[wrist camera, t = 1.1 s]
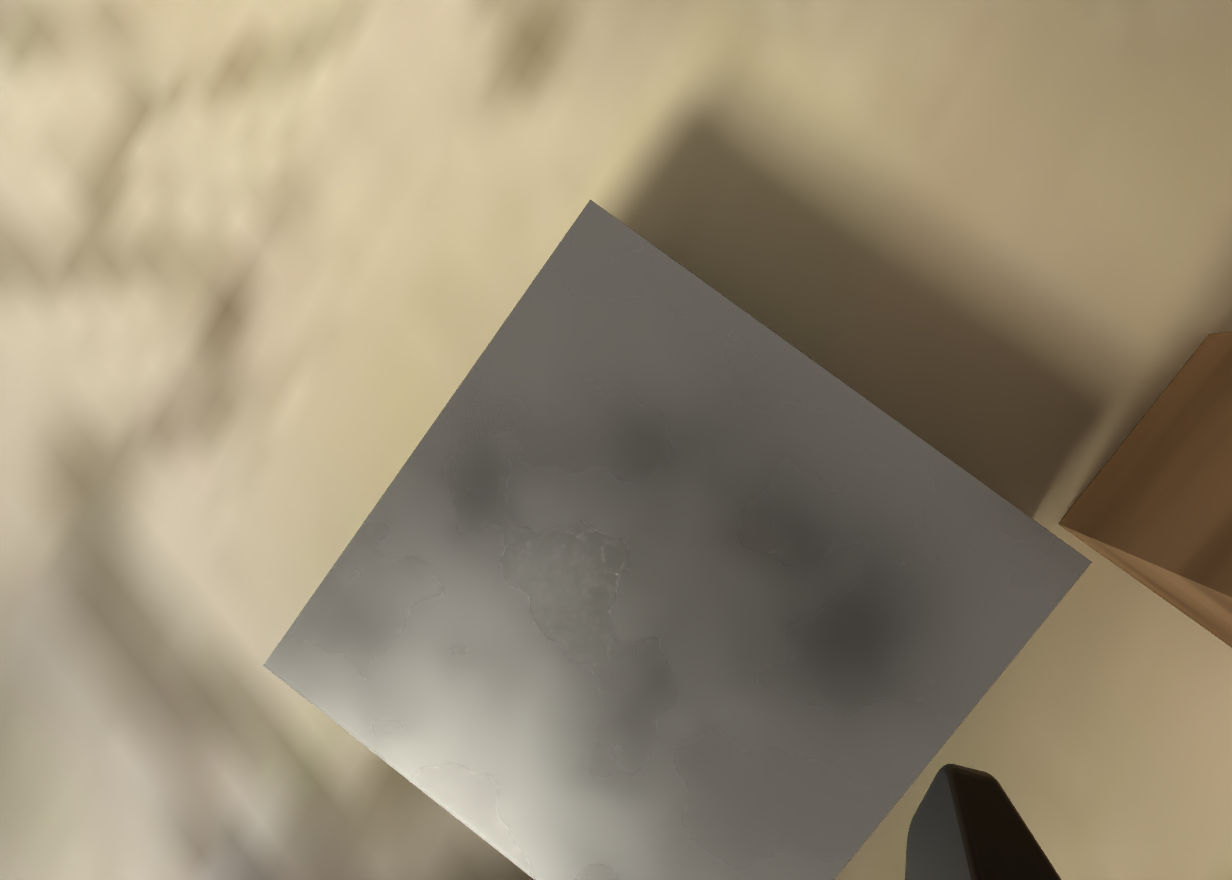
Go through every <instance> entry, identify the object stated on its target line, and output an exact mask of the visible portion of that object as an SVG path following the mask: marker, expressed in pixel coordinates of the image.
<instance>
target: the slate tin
mask: <svg viewBox="0 0 1232 880" xmlns="http://www.w3.org/2000/svg"><path fill="white" fill-rule="evenodd" d="M1091 563H1092V562H1091V561H1090V560H1088V559H1087V558H1086V557H1084V556H1083V555H1081V554H1080V553H1079V552H1077V551H1076V550H1075V549H1073V548H1072V547H1070V546H1069V545H1068V544H1066V543H1065V542H1064V541H1062V540H1061V539H1059V538H1058V537H1057V536H1055V535H1054V534H1052V533H1051V532H1050V531H1048V530H1047V529H1046V528H1044V527H1043V526H1041V525H1040V524H1039V523H1037V522H1036V521H1034V520H1033V519H1032V518H1030V517H1029V516H1028V515H1026V514H1025V513H1023V512H1022V511H1021V510H1019V509H1018V508H1016V507H1015V506H1014V505H1012V504H1011V503H1010V502H1008V501H1007V500H1005V499H1004V498H1003V497H1001V496H1000V495H998V494H997V493H996V492H994V491H993V490H992V489H990V488H989V487H987V486H986V485H985V484H983V483H982V482H980V481H979V480H978V479H976V478H975V477H974V476H972V475H971V474H969V473H968V472H967V471H965V470H964V469H962V468H961V467H960V466H958V465H957V464H956V463H954V462H953V461H951V460H950V459H949V458H947V457H946V456H944V455H943V454H942V453H940V452H939V451H938V450H936V449H935V448H933V447H932V446H931V445H929V444H928V443H926V442H925V441H924V440H922V439H921V438H920V437H918V436H917V435H915V434H914V433H913V432H911V431H910V430H908V429H907V428H906V427H904V426H903V425H902V424H900V423H899V422H897V421H896V420H895V419H893V418H892V417H890V416H889V415H888V414H886V413H885V412H884V411H882V410H881V409H879V408H878V407H877V406H875V405H874V404H873V403H871V402H870V401H868V400H867V399H866V398H864V397H863V396H861V395H860V394H859V393H857V392H856V391H855V390H853V389H852V388H850V387H849V386H848V385H846V384H845V383H843V382H842V381H841V380H839V379H838V378H837V377H835V376H834V375H832V374H831V373H830V372H828V371H827V370H825V369H824V368H823V367H821V366H820V365H819V364H817V363H816V362H814V361H813V360H812V359H810V358H809V357H807V356H806V355H805V354H803V353H802V352H801V351H799V350H798V349H796V348H795V347H794V346H792V345H791V344H789V343H788V342H787V341H785V340H784V339H783V338H781V337H780V336H778V335H777V334H776V333H774V332H773V331H771V330H770V329H769V328H767V327H766V326H765V325H763V324H762V323H760V322H759V321H758V320H756V319H755V318H753V317H752V316H751V315H749V314H748V313H747V312H745V311H744V310H742V309H741V308H740V307H738V306H737V305H735V304H734V303H733V302H731V301H730V300H729V299H727V298H726V297H724V296H723V295H722V294H720V293H719V292H717V291H716V290H715V289H713V288H712V287H711V286H709V285H708V284H706V283H705V282H704V281H702V280H701V279H699V278H698V277H697V276H695V275H694V274H693V273H691V272H690V271H688V270H687V269H686V268H684V267H683V266H681V265H680V264H679V263H677V262H676V261H675V260H673V259H672V258H670V257H669V256H668V255H666V254H665V253H664V252H662V251H661V250H659V249H658V248H657V247H655V246H654V245H652V244H651V243H650V242H648V241H647V240H646V239H644V238H643V237H641V236H640V235H639V234H637V233H636V232H634V231H633V230H632V229H630V228H629V227H628V226H626V225H625V224H623V223H622V222H621V221H619V220H618V219H616V218H615V217H614V216H612V215H611V214H610V213H608V212H607V211H605V210H604V209H603V208H601V207H600V206H598V205H597V204H596V203H594V202H593V201H592V200H590V201H589V202H588V204H587V205H586V207H585V208H584V209H583V211H582V212H581V214H580V215H579V216H578V218H577V219H576V221H575V222H574V224H573V225H572V226H571V228H570V229H569V231H568V232H567V234H566V235H565V236H564V238H563V239H562V241H561V242H560V244H559V245H558V246H557V248H556V249H555V251H554V252H553V254H552V255H551V256H550V258H549V259H548V261H547V262H546V264H545V265H544V266H543V268H542V269H541V271H540V272H539V274H538V275H537V276H536V278H535V279H534V281H533V282H532V283H531V285H530V286H529V288H528V289H527V291H526V292H525V293H524V295H523V296H522V298H521V299H520V301H519V302H518V303H517V305H516V306H515V308H514V309H513V311H512V312H511V313H510V315H509V316H508V318H507V319H506V321H505V322H504V323H503V325H502V326H501V328H500V329H499V331H498V332H497V333H496V335H495V336H494V338H493V339H492V340H491V342H490V343H489V345H488V346H487V348H486V349H485V350H484V352H483V353H482V355H481V356H480V358H479V359H478V360H477V362H476V363H475V365H474V366H473V368H472V369H471V370H470V372H469V373H468V375H467V376H466V378H465V379H464V380H463V382H462V383H461V385H460V386H459V388H458V389H457V390H456V392H455V393H454V395H453V396H452V397H451V399H450V400H449V402H448V403H447V405H446V406H445V407H444V409H443V410H442V412H441V413H440V415H439V416H438V417H437V419H436V420H435V422H434V423H433V425H432V426H431V427H430V429H429V430H428V432H427V433H426V435H425V436H424V437H423V439H422V440H421V442H420V443H419V445H418V446H417V447H416V449H415V450H414V452H413V453H412V455H411V456H410V457H409V459H408V460H407V462H406V463H405V464H404V466H403V467H402V469H401V470H400V472H399V473H398V474H397V476H396V477H395V479H394V480H393V482H392V483H391V484H390V486H389V487H388V489H387V490H386V492H385V493H384V494H383V496H382V497H381V499H380V500H379V502H378V503H377V504H376V506H375V507H374V509H373V510H372V512H371V513H370V514H369V516H368V517H367V519H366V520H365V521H364V523H363V524H362V526H361V527H360V529H359V530H358V531H357V533H356V534H355V536H354V537H353V539H352V540H351V541H350V543H349V544H348V546H347V547H346V549H345V550H344V551H343V553H342V554H341V556H340V557H339V559H338V560H337V561H336V563H335V564H334V566H333V567H332V569H331V570H330V571H329V573H328V574H327V576H326V577H325V578H324V580H323V581H322V583H321V584H320V586H319V587H318V588H317V590H316V591H315V593H314V594H313V596H312V597H311V598H310V600H309V601H308V603H307V604H306V606H305V607H304V608H303V610H302V611H301V613H300V614H299V616H298V617H297V618H296V620H295V621H294V623H293V624H292V626H291V627H290V628H289V630H288V631H287V633H286V634H285V636H284V637H283V638H282V640H281V641H280V643H279V644H278V645H277V647H276V648H275V650H274V651H273V653H272V654H271V655H270V657H269V658H268V660H267V661H266V663H265V664H264V665H263V666H265V667H266V668H267V669H268V670H270V671H271V672H272V673H273V674H275V675H276V676H277V677H279V678H280V679H281V680H282V681H284V682H285V683H286V684H287V685H289V686H290V687H291V688H292V689H294V690H295V691H296V692H297V693H299V694H300V695H301V696H303V697H304V698H305V699H306V700H308V701H309V702H310V703H311V704H313V705H314V706H315V707H316V708H318V709H319V710H320V711H322V712H323V713H324V714H325V715H327V716H328V717H329V718H330V719H332V720H333V721H334V722H335V723H337V724H338V725H339V726H341V727H342V728H343V729H344V730H346V731H347V732H348V733H349V734H351V735H352V736H353V737H354V738H356V739H357V740H358V741H359V742H361V743H362V744H363V745H365V746H366V747H367V748H368V749H370V750H371V751H372V752H373V753H375V754H376V755H377V756H378V757H380V758H381V759H382V760H384V761H385V762H386V763H387V764H389V765H390V766H391V767H392V768H394V769H395V770H396V771H397V772H399V773H400V774H401V775H403V776H404V777H405V778H406V779H408V780H409V781H410V782H411V783H413V784H414V785H415V786H416V787H418V788H419V789H420V790H421V791H423V792H424V793H425V794H427V795H428V796H429V797H430V798H432V799H433V800H434V801H435V802H437V803H438V804H439V805H440V806H442V807H443V808H444V809H446V810H447V811H448V812H449V813H451V814H452V815H453V816H454V817H456V818H457V819H458V820H459V821H461V822H462V823H463V824H465V825H466V826H467V827H468V828H470V829H471V830H472V831H473V832H475V833H476V834H477V835H478V836H480V837H481V838H482V839H483V840H485V841H486V842H487V843H489V844H490V845H491V846H492V847H494V848H495V849H496V850H497V851H499V852H500V853H501V854H502V855H504V856H505V857H506V858H508V859H509V860H510V861H511V862H513V863H514V864H515V865H516V866H518V867H519V868H520V869H521V870H523V871H524V872H525V873H527V874H528V875H529V876H530V877H532V878H533V879H534V880H834V879H835V878H836V877H837V875H838V874H839V873H840V872H841V870H842V869H843V868H844V867H845V866H846V864H847V863H848V862H849V861H850V859H851V858H852V857H853V856H854V854H855V853H856V852H857V851H858V850H859V848H860V847H861V846H862V845H863V843H864V842H865V841H866V840H867V838H868V837H869V836H870V835H871V834H872V832H873V831H874V830H875V829H876V827H877V826H878V825H879V824H880V822H881V821H882V820H883V819H884V818H885V816H886V815H887V814H888V813H889V811H890V810H891V809H892V808H893V806H894V805H895V804H896V803H897V801H898V800H899V799H900V798H901V797H902V795H903V794H904V793H905V792H906V790H907V789H908V788H909V787H910V785H911V784H912V783H913V782H914V781H915V779H916V778H917V777H918V776H919V774H920V773H921V772H922V771H923V769H924V768H925V767H926V766H927V765H928V763H929V762H930V761H931V760H932V758H933V757H934V756H935V755H936V753H937V752H938V751H939V750H940V749H941V747H942V746H943V745H944V744H945V742H946V741H947V740H948V739H949V737H950V736H951V735H952V734H953V733H954V731H955V730H956V729H957V728H958V726H959V725H960V724H961V723H962V721H963V720H964V719H965V718H966V716H967V715H968V714H969V713H970V712H971V710H972V709H973V708H974V707H975V705H976V704H977V703H978V702H979V700H980V699H981V698H982V697H983V696H984V694H985V693H986V692H987V691H988V689H989V688H990V687H991V686H992V684H993V683H994V682H995V681H996V680H997V678H998V677H999V676H1000V675H1001V673H1002V672H1003V671H1004V670H1005V668H1006V667H1007V666H1008V665H1009V664H1010V662H1011V661H1012V660H1013V659H1014V657H1015V656H1016V655H1017V654H1018V652H1019V651H1020V650H1021V649H1022V648H1023V646H1024V645H1025V644H1026V643H1027V641H1028V640H1029V639H1030V638H1031V636H1032V635H1033V634H1034V633H1035V631H1036V630H1037V629H1038V628H1039V627H1040V625H1041V624H1042V623H1043V622H1044V620H1045V619H1046V618H1047V617H1048V615H1049V614H1050V613H1051V612H1052V611H1053V609H1054V608H1055V607H1056V606H1057V604H1058V603H1059V602H1060V601H1061V599H1062V598H1063V597H1064V596H1065V595H1066V593H1067V592H1068V591H1069V590H1070V588H1071V587H1072V586H1073V585H1074V583H1075V582H1076V581H1077V580H1078V579H1079V577H1080V576H1081V575H1082V574H1083V572H1084V571H1085V570H1086V569H1087V567H1088V566H1089V565H1090V564H1091Z"/></svg>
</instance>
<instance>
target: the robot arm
mask: <svg viewBox="0 0 1232 880" xmlns="http://www.w3.org/2000/svg"><path fill="white" fill-rule="evenodd" d="M905 880H1061V878H1060V877H1059V875H1058V874H1057V872H1056V871H1055V869H1054V867H1053V866H1052V864H1051V863H1050V861H1049V860H1048V858H1047V857H1046V855H1045V854H1044V852H1043V850H1042V849H1041V847H1040V846H1039V844H1038V843H1037V841H1036V840H1035V838H1034V837H1033V835H1032V833H1031V832H1030V830H1029V829H1028V827H1027V826H1026V824H1025V823H1024V821H1023V819H1022V818H1021V816H1020V815H1019V813H1018V812H1017V810H1016V809H1015V807H1014V806H1013V804H1012V802H1011V801H1010V799H1009V798H1008V796H1007V795H1006V793H1005V792H1004V790H1003V789H1002V787H1001V785H1000V784H999V783H998V781H997V780H996V779H995V778H994V777H993V776H992V775H990V774H988V773H986V772H983V771H979V770H975V769H971V768H967V767H963V766H959V765H955V764H947V765H944V766H943V767H942V768H941V769H940V770H939V771H938V773H937V775H936V776H935V778H934V780H933V782H932V784H931V785H930V787H929V789H928V791H927V793H926V794H925V796H924V798H923V800H922V802H921V804H920V805H919V807H918V809H917V811H916V813H915V814H914V816H913V819H912V821H911V824H910V828H909V832H908V838H907V850H906V871H905Z"/></svg>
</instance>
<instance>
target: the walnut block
mask: <svg viewBox="0 0 1232 880" xmlns="http://www.w3.org/2000/svg"><path fill="white" fill-rule="evenodd" d="M1059 524H1060V525H1061V526H1062V527H1064V528H1065V529H1067V530H1068V531H1069V532H1071V533H1072V534H1074V535H1075V536H1076V537H1078V538H1079V539H1081V540H1082V541H1083V542H1085V543H1086V544H1088V545H1089V546H1090V547H1092V548H1093V549H1095V550H1096V551H1097V552H1099V553H1100V554H1102V555H1103V556H1104V557H1106V558H1107V559H1109V560H1110V561H1111V562H1113V563H1114V564H1116V565H1117V566H1118V567H1120V568H1121V569H1123V570H1124V571H1125V572H1127V573H1128V574H1130V575H1131V576H1132V577H1134V578H1135V579H1137V580H1138V581H1139V582H1141V583H1142V584H1144V585H1145V586H1146V587H1148V588H1149V589H1151V590H1152V591H1153V592H1155V593H1156V594H1158V595H1159V596H1160V597H1162V598H1163V599H1165V600H1166V601H1167V602H1169V603H1170V604H1172V605H1173V606H1174V607H1176V608H1177V609H1179V610H1180V611H1181V612H1183V613H1184V614H1186V615H1187V616H1188V617H1190V618H1191V619H1193V620H1194V621H1196V622H1197V623H1198V624H1200V625H1201V626H1203V627H1204V628H1205V629H1207V630H1208V631H1210V632H1211V633H1212V634H1214V635H1215V636H1217V637H1218V638H1219V639H1221V640H1222V641H1224V642H1225V643H1226V644H1228V645H1229V646H1231V647H1232V332H1225V333H1217V334H1209V335H1208V336H1207V337H1206V339H1205V340H1204V341H1203V343H1202V344H1201V345H1200V346H1199V348H1198V349H1197V350H1196V351H1195V353H1194V354H1193V355H1192V356H1191V358H1190V359H1189V360H1188V361H1187V363H1186V364H1185V365H1184V366H1183V368H1182V369H1181V370H1180V371H1179V373H1178V374H1177V375H1176V377H1175V378H1174V379H1173V380H1172V382H1171V383H1170V384H1169V385H1168V387H1167V388H1166V389H1165V390H1164V392H1163V393H1162V394H1161V395H1160V397H1159V398H1158V399H1157V400H1156V402H1155V403H1154V404H1153V406H1152V407H1151V408H1150V409H1149V411H1148V412H1147V413H1146V414H1145V416H1144V417H1143V418H1142V419H1141V421H1140V422H1139V423H1138V424H1137V426H1136V427H1135V428H1134V429H1133V431H1132V432H1131V433H1130V434H1129V436H1128V437H1127V438H1126V440H1125V441H1124V442H1123V443H1122V445H1121V446H1120V447H1119V448H1118V450H1117V451H1116V452H1115V453H1114V455H1113V456H1112V457H1111V458H1110V460H1109V461H1108V462H1107V463H1106V465H1105V466H1104V467H1103V468H1102V470H1101V471H1100V472H1099V474H1098V475H1097V476H1096V477H1095V479H1094V480H1093V481H1092V482H1091V484H1090V485H1089V486H1088V487H1087V489H1086V490H1085V491H1084V492H1083V494H1082V495H1081V496H1080V497H1079V499H1078V500H1077V501H1076V503H1075V504H1074V505H1073V506H1072V508H1071V509H1070V510H1069V511H1068V513H1067V514H1066V515H1065V516H1064V518H1063V519H1062V520H1061V521H1060V523H1059Z"/></svg>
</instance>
